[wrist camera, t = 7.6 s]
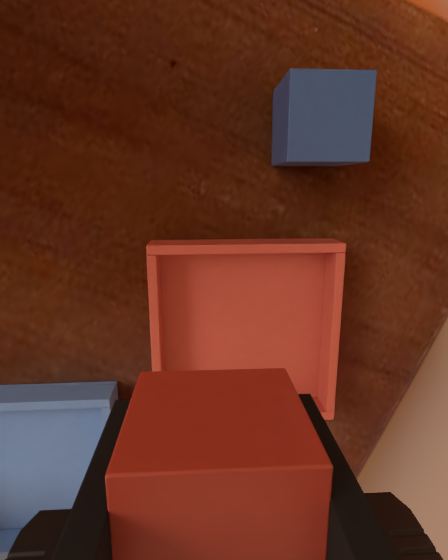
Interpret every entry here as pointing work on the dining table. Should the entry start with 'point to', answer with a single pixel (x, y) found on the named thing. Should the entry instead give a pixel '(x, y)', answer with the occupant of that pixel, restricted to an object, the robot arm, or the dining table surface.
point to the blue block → (323, 117)
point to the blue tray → (46, 447)
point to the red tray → (249, 308)
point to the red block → (218, 470)
